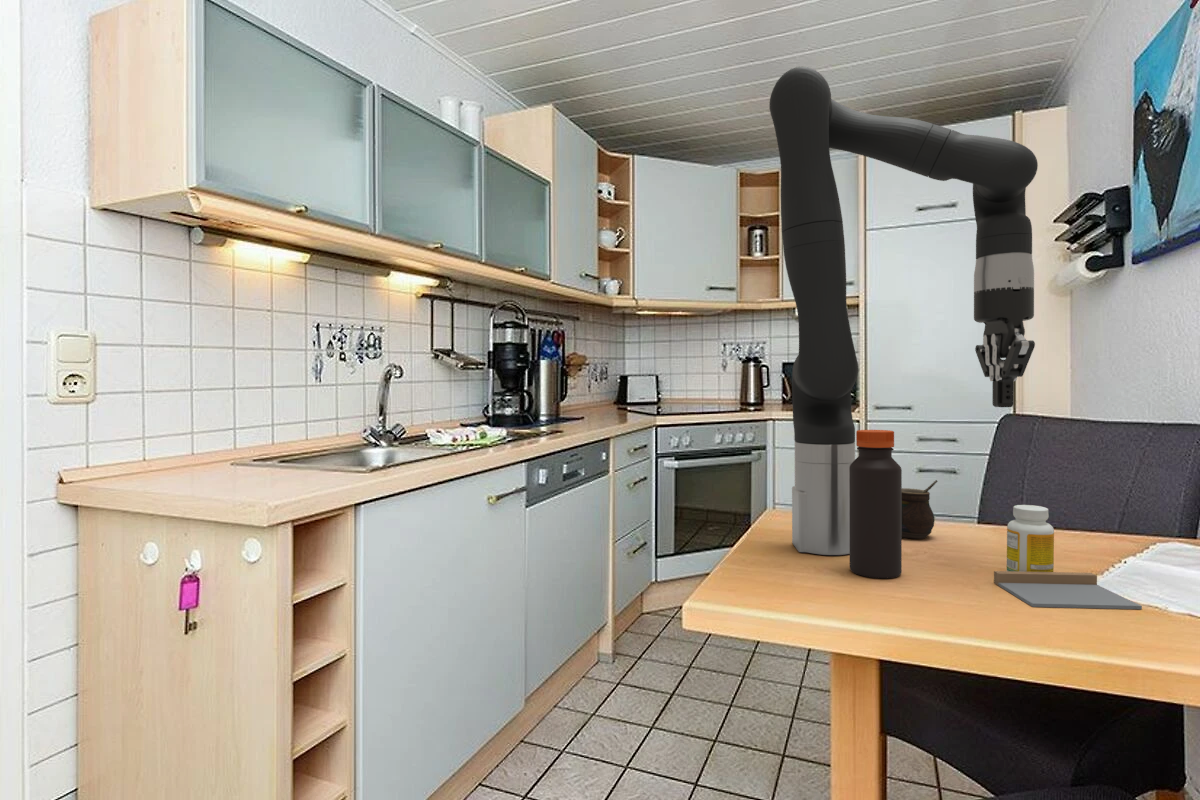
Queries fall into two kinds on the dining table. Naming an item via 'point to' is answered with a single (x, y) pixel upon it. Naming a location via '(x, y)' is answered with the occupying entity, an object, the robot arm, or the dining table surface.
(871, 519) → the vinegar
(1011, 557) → the supplement bottle
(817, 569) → the dining table surface
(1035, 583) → the plate
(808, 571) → the dining table surface
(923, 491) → the mate gourd
